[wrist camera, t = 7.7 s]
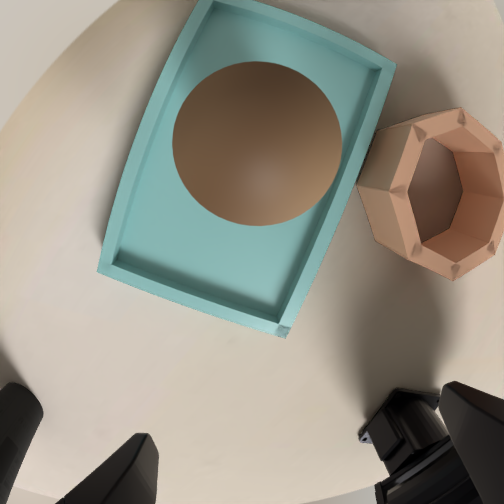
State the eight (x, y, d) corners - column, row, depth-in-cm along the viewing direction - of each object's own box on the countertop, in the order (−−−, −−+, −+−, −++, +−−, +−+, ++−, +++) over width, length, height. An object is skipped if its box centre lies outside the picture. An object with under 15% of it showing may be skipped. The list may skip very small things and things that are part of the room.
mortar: (482, 160, 19) (523, 163, 14) (441, 272, 21) (478, 294, 16) (388, 95, 17) (425, 80, 13) (339, 225, 19) (367, 241, 15)
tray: (383, 72, 17) (396, 64, 15) (281, 323, 21) (285, 338, 19) (208, 2, 15) (206, -13, 13) (108, 262, 19) (96, 271, 17)
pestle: (306, 131, 17) (385, 95, 7) (272, 216, 18) (314, 273, 8) (219, 98, 16) (200, 20, 6) (185, 184, 17) (125, 204, 8)
